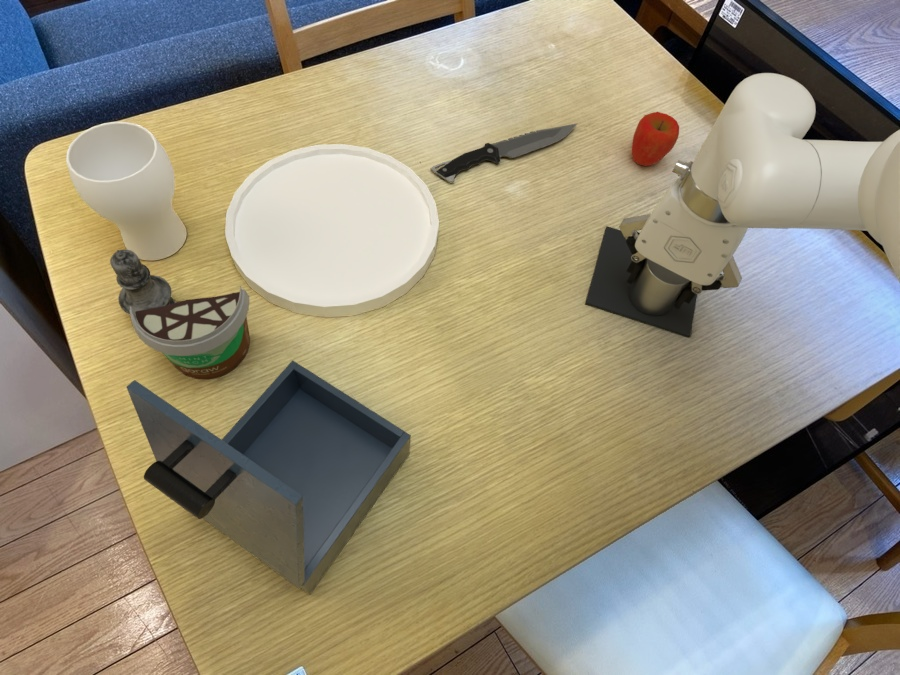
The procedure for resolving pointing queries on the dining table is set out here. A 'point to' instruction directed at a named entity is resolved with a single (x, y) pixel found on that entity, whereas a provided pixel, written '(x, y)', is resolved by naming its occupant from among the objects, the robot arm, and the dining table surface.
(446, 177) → the knife
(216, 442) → the lid
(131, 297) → the chess piece
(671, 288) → the brushed metal cylinder
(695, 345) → the dining table surface
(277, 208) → the plate
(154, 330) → the food container
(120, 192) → the cup
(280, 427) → the dark blue-grey open box
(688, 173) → the robot arm
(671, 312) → the mat
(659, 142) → the apple
